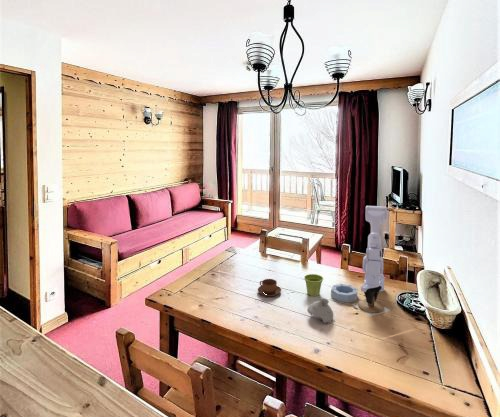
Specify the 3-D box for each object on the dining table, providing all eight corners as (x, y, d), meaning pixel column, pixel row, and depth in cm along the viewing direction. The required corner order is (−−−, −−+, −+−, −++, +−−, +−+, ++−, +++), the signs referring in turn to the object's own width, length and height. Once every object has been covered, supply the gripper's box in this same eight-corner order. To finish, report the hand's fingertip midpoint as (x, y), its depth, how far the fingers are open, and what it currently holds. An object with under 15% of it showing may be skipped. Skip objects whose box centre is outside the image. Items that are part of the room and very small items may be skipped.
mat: (371, 300, 154) (371, 299, 154) (390, 311, 143) (391, 310, 143) (351, 304, 150) (351, 304, 150) (369, 317, 139) (369, 316, 139)
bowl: (346, 289, 165) (346, 282, 165) (362, 299, 154) (362, 292, 154) (326, 294, 161) (327, 286, 160) (341, 304, 150) (342, 296, 149)
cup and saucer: (254, 296, 160) (254, 284, 159) (261, 286, 171) (261, 275, 170) (277, 299, 156) (277, 288, 155) (283, 289, 167) (283, 278, 166)
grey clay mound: (338, 324, 139) (344, 305, 134) (318, 332, 133) (324, 313, 128) (319, 306, 148) (325, 287, 143) (300, 313, 142) (305, 294, 137)
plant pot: (323, 298, 156) (323, 282, 155) (303, 297, 158) (303, 280, 157) (322, 290, 165) (323, 274, 164) (304, 289, 167) (304, 273, 166)
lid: (371, 299, 153) (372, 289, 152) (389, 310, 143) (390, 299, 142) (353, 304, 149) (353, 293, 148) (369, 315, 139) (370, 303, 138)
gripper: (373, 267, 151) (371, 294, 153) (355, 275, 142) (354, 303, 145) (387, 271, 145) (385, 299, 148) (370, 280, 137) (368, 309, 139)
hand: (371, 301), depth 146 cm, fingers open, 3 cm apart
